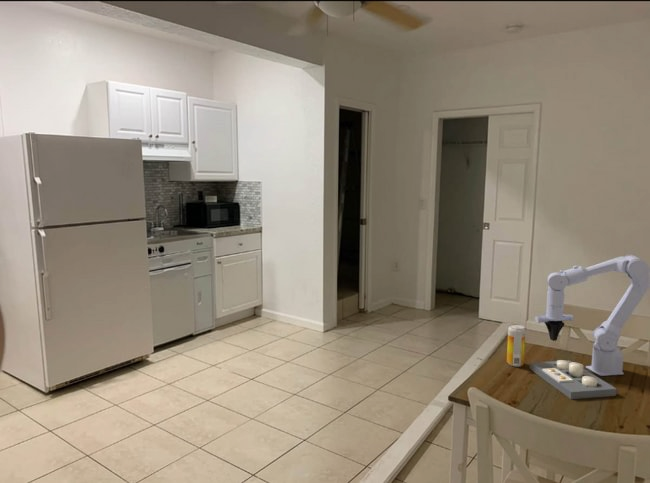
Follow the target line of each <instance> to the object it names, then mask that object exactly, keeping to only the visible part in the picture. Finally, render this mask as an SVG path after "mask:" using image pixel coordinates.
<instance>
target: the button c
mask: <svg viewBox="0 0 650 483" xmlns="http://www.w3.org/2000/svg"><path fill="white" fill-rule="evenodd" d="M582 384H583V385H585V386H586V387H597V379H596V378H594V377H591V376H583V377H582Z"/></svg>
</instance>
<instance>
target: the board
mask: <svg viewBox="0 0 650 483" xmlns="http://www.w3.org/2000/svg"><path fill="white" fill-rule="evenodd" d="M557 361H558V360H555V361H539V362H538V361H537V362H529V370H530V369H531V371H532V372H533V373H534V374H536V375H537V376H539V377H540V378H541V379H543V380H544V381H546V382H547V383H548V384H550V385H551V386H552V387H554V388H555V389H557V390H558V391H559V392H561V393H562V394H563V395H565V396H566V397H567V398H569V399H570V400H576V399H577V400H579V399H589V398H600V397H601V398H603V397H615V396H617V390H618V389H617V387H615V386H613V385H611V384H610V383H608V382H606V381H605V380H603V379H601V378H600V377H598V376H597V375H595V374H593V373H591V372H590V371H588V370H586V369H585V368H583V376H591V377H594V378H596V379H597V387H586V386H585V385H583V384H582V377H581V378H576V377H572V376H570V375H569V369H567V370H560V369H559V368H557ZM565 361H568V362H570V363H571V362H573V361H571V360H569V359H568V360H565ZM547 368H556V369H558V370H559V371H561V372H562V373H564V374H565V375H567V376H568V377H570V378H571V379H573V382H560V383H559V382H558V381H556V380H555V379H554V378H552V377H551V376H549V375H548V374H546V373H545V372H544V371H542V369H547Z"/></svg>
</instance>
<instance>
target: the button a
mask: <svg viewBox="0 0 650 483" xmlns="http://www.w3.org/2000/svg"><path fill="white" fill-rule="evenodd" d="M556 361H557V368H559V369H560V370H567V369H569V363H570V362H568V361H566V360H563V359H558V360H556Z"/></svg>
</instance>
